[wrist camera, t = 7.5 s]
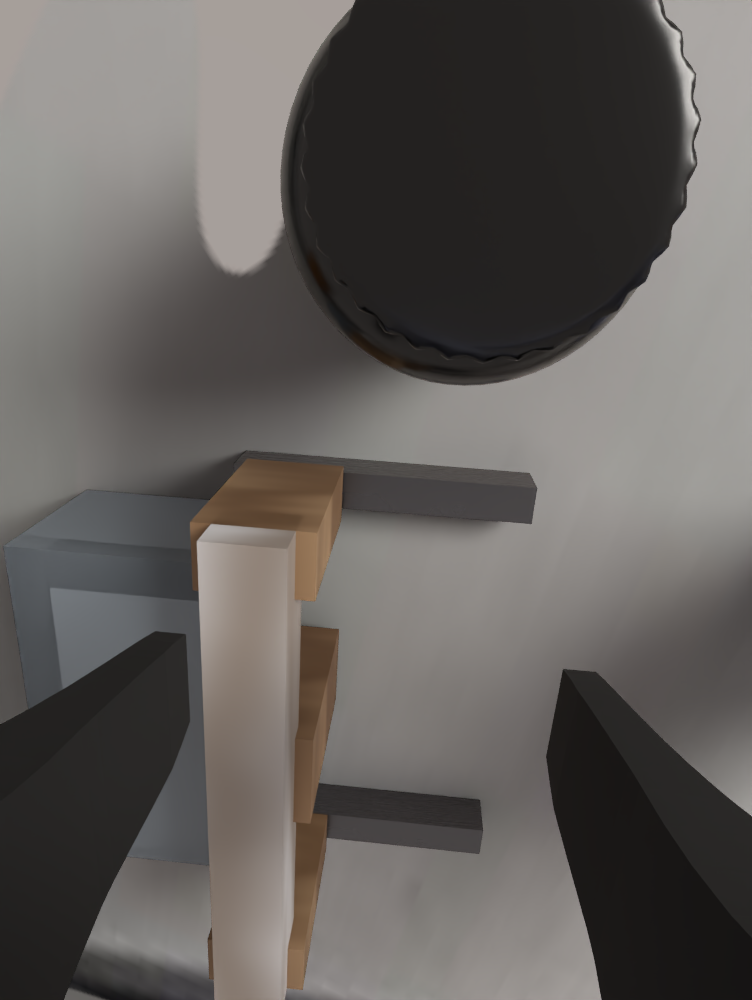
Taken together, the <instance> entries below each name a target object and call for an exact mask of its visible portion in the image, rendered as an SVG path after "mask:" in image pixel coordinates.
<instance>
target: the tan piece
mask: <svg viewBox="0 0 752 1000" xmlns="http://www.w3.org/2000/svg"><path fill="white" fill-rule="evenodd" d="M343 469H344V466H333V465H321V464H308V463H296V462H283V461H271V460H258V459H246V460H245V462H244V463H243V464H242V465H241V466H240V467H239V468H238V469H237V470H236V472H235V473H234V474H233V475H232V476H231V477H230V478H229V479H228V480H227V482H226V483H225V484H224V485H223V486H222V487H221V488H220V489H219V490H218V491H217V493H216V494H215V495H214V496H213V497H212V498H211V499H210V500H209V501H208V503H207V504H206V505H205V506H204V507H203V508H202V509H201V510H200V511H199V513H198V514H197V515H196V516H195V517H194V518H193V519H192V520H191V521H190V538H191V561H192V585H193V590H194V591H199V612H200V638H201V663H202V689H203V715H204V740H205V766H206V791H207V817H208V842H209V868H210V894H211V919H212V928H211V931H210V934H209V937H208V959H209V979H214V996H215V1000H285V995H286V990H287V988H290V989H299V990H303V984H304V978H305V972H306V966H307V960H308V954H309V948H310V942H311V936H312V930H313V924H314V918H315V912H316V906H317V900H318V894H319V888H320V882H321V876H322V870H323V864H324V858H325V852H326V837H327V816H328V815H324V814H314V813H313V808H314V803H315V798H316V793H317V788H318V783H319V779H320V774H321V769H322V764H323V759H324V754H325V749H326V744H327V739H328V734H329V729H330V724H331V720H332V715H333V710H334V705H335V700H336V682H337V661H338V640H339V629H330V628H319V627H308V626H301V600H305V601H315V600H316V597H317V594H318V591H319V588H320V585H321V581H322V578H323V575H324V572H325V569H326V566H327V563H328V560H329V557H330V554H331V550H332V547H333V544H334V541H335V538H336V535H337V532H338V529H339V526H340V522H341V513H342V491H343Z"/></svg>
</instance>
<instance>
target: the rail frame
mask: <svg viewBox="0 0 752 1000" xmlns="http://www.w3.org/2000/svg"><path fill="white" fill-rule="evenodd" d="M246 459H258V460H271V461H283V462H296V463H308V464H321V465H333V466H344V469H343V491H342V508H346V509H358V510H370V511H382V512H394V513H406V514H418V515H430V516H442V517H454V518H466V519H478V520H490V521H502V522H514V523H526V524H532V518H533V511H534V505H535V499H536V492H537V487H536V485H535V483H534V481H533V479H532V477H531V475H530V473H521V472H508V471H495V470H483V469H470V468H458V467H445V466H433V465H420V464H408V463H395V462H383V461H370V460H358V459H345V458H333V457H320V456H308V455H295V454H283V453H270V452H258V451H245V452H244V453H243V454H242V455H241V457H240V458H239V459H238V460H237V461H236V462H235V463H234V473H235V472H236V470H237V469H238V468H239V467H240V466H241V465H242V464H243V463H244V462H245V460H246ZM313 813H314V814H324V815H328V816H327V837H326V838H335V839H344V840H353V841H363V842H372V843H382V844H391V845H400V846H410V847H419V848H429V849H438V850H447V851H457V852H466V853H476V854H479V852H480V846H481V840H482V833H483V827H482V817H481V807H480V800H473V799H463V798H453V797H443V796H434V795H424V794H414V793H404V792H395V791H385V790H375V789H365V788H356V787H346V786H336V785H326V784H318V788H317V793H316V798H315V803H314V808H313Z"/></svg>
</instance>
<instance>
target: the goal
mask: <svg viewBox="0 0 752 1000" xmlns="http://www.w3.org/2000/svg"><path fill="white" fill-rule="evenodd" d="M208 501H209V500H203V499H191V498H179V497H167V496H155V495H143V494H131V493H119V492H107V491H95V490H86V491H84V492H83V493H81V494H80V495H78V496H77V497H75V498H74V499H72V500H71V501H69V502H68V503H66V504H65V505H63V506H62V507H60V508H59V509H58V510H56V511H55V512H53V513H52V514H50V515H49V516H47V517H46V518H44V519H43V520H41V521H40V522H38V523H37V524H35V525H34V526H32V527H31V528H29V529H28V530H26V531H25V532H23V533H22V534H20V535H19V536H17V537H16V538H14V539H13V540H12V541H10V542H9V543H7V544H6V545H4V546H3V548H4V555H5V561H6V568H7V574H8V581H9V587H10V594H11V600H12V607H13V613H14V620H15V626H16V633H17V639H18V645H19V652H20V658H21V665H22V671H23V678H24V684H25V691H26V697H27V704H28V709H30V708H31V707H33V706H35V705H37V704H38V703H40V702H42V701H43V700H45V699H47V698H49V697H50V696H52V695H54V694H56V693H57V692H59V691H61V690H62V689H64V688H66V687H68V686H69V685H71V684H73V683H74V682H76V681H77V680H79V679H80V678H82V677H84V676H85V675H87V674H88V673H90V672H91V671H93V670H95V669H96V668H98V667H99V666H101V665H102V664H104V663H106V662H107V661H109V660H110V659H112V658H113V657H115V656H116V655H118V654H119V653H121V652H122V651H124V650H125V649H127V648H129V647H130V646H132V645H133V644H135V643H136V642H138V641H139V640H141V639H143V638H144V637H146V636H148V635H149V634H151V633H153V632H155V631H159V632H170V633H180V634H186V643H187V664H188V685H189V705H190V723H189V726H188V729H187V732H186V734H185V737H184V740H183V743H182V746H181V748H180V751H179V753H178V756H177V759H176V761H175V764H174V766H173V769H172V771H171V773H170V775H169V777H168V779H167V781H166V783H165V785H164V787H163V789H162V790H161V792H160V794H159V796H158V798H157V800H156V802H155V804H154V806H153V808H152V810H151V811H150V813H149V815H148V817H147V819H146V821H145V823H144V825H143V827H142V828H141V830H140V832H139V834H138V836H137V838H136V840H135V842H134V843H133V845H132V847H131V849H130V851H129V853H128V855H127V857H135V858H145V859H154V860H163V861H172V862H181V863H190V864H199V865H209V842H208V817H207V791H206V766H205V740H204V715H203V689H202V663H201V638H200V612H199V591H194V590H193V585H192V561H191V538H190V521H191V520H192V519H193V518H194V517H195V516H196V515H197V514H198V513H199V511H200V510H201V509H202V508H203V507H204V506H205V505H206V504H207V503H208Z"/></svg>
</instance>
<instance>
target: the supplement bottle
mask: <svg viewBox="0 0 752 1000" xmlns="http://www.w3.org/2000/svg"><path fill="white" fill-rule="evenodd" d="M695 82H696V73H695V72H694V70H693V68H692V67H691V65H690V64H689V62H688V61H687V60H686V59H685V57H684V56H683V37H682V31H681V30H680V29H679V28H678V27H677V26H676V25H675V24H674V23H673V22H672V21H670V20H669V19H668V18H667V17H666V16H665V11H664V6H663V2H662V0H355V3H354V5H353V7H352V8H351V9H350V10H349V11H348V12H347V13H346V14H345V15H344V17H343V18H342V19H341V20H340V21H339V22H338V23H337V25H336V26H335V27H334V28H333V29H332V31H331V32H330V34H329V35H328V36H327V38H326V39H325V41H324V42H323V43H322V45H321V46H320V48H319V50H318V51H317V53H316V55H315V56H314V58H313V60H312V62H311V63H310V65H309V67H308V69H307V71H306V73H305V75H304V77H303V80H302V82H301V84H300V86H299V89H298V92H297V95H296V97H295V100H294V103H293V105H292V108H291V112H290V116H289V120H288V124H287V127H286V132H285V138H284V144H283V150H282V162H281V198H282V210H283V217H284V222H285V228H286V233H287V237H288V240H289V244H290V248H291V251H292V254H293V257H294V259H295V262H296V265H297V267H298V270H299V272H300V274H301V276H302V278H303V280H304V283H305V285H306V287H307V288H308V290H309V292H310V293H311V295H312V297H313V298H314V300H315V302H316V303H317V305H318V306H319V307H320V309H321V310H322V312H323V313H324V314H325V316H326V317H327V318H328V319H329V321H330V322H331V323H332V324H333V325H334V326H335V327H336V328H337V330H338V331H339V332H340V333H341V334H342V335H344V336H345V337H346V338H347V339H348V340H349V341H350V342H351V343H352V344H353V345H355V346H356V347H357V348H359V349H360V350H361V351H363V352H364V353H365V354H367V355H368V356H370V357H371V358H373V359H375V360H376V361H378V362H379V363H381V364H383V365H385V366H387V367H389V368H391V369H393V370H395V371H398V372H400V373H403V374H406V375H408V376H411V377H414V378H418V379H421V380H425V381H429V382H435V383H441V384H447V385H463V386H465V385H485V384H492V383H499V382H504V381H508V380H513V379H517V378H520V377H523V376H526V375H529V374H532V373H534V372H537V371H539V370H541V369H544V368H546V367H548V366H550V365H552V364H554V363H556V362H558V361H559V360H561V359H563V358H565V357H567V356H568V355H570V354H571V353H573V352H574V351H576V350H577V349H579V348H580V347H582V346H583V345H584V344H586V343H587V342H588V341H589V340H590V339H592V338H593V337H594V336H595V335H597V334H598V333H599V332H600V331H601V330H602V329H603V328H604V327H605V326H606V325H607V324H608V323H609V322H610V321H611V320H612V319H613V318H614V317H615V316H616V315H617V313H618V312H619V311H620V310H621V309H622V308H623V307H624V305H625V304H626V303H627V301H628V300H629V299H630V297H631V296H632V294H633V293H634V292H635V290H636V289H637V288H638V286H640V285H641V284H643V283H644V282H645V281H646V279H647V277H648V275H649V272H650V268H651V265H652V263H653V261H654V260H655V259H656V258H657V257H659V256H660V255H661V254H662V253H663V252H664V251H665V250H666V249H667V248H668V247H669V243H670V239H671V230H672V226H673V224H674V223H675V222H676V220H677V219H678V218H679V217H680V215H681V214H682V212H683V211H684V210H685V208H686V203H687V186H686V185H687V183H688V181H689V180H690V178H691V176H692V174H693V172H694V170H695V168H696V166H697V157H696V152H695V149H694V140H695V137H696V135H697V132H698V129H699V125H700V121H701V117H700V114H699V111H698V108H697V107H696V105H695V103H694V100H693V93H694V89H695Z"/></svg>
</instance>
